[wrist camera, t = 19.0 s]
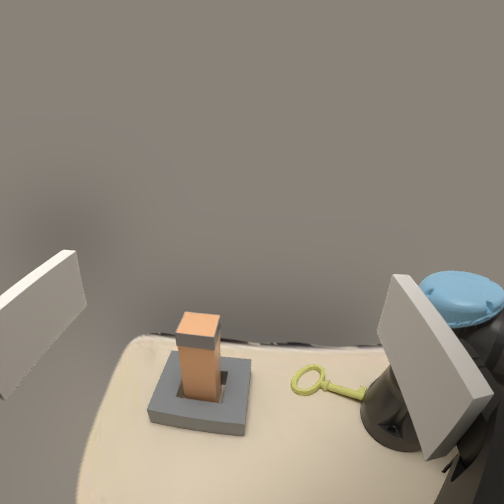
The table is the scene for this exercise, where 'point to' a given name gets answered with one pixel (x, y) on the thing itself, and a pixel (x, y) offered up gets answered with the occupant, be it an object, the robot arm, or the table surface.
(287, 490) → the table surface
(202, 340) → the plug
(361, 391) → the key
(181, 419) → the socket block
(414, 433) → the robot arm
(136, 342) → the table surface
